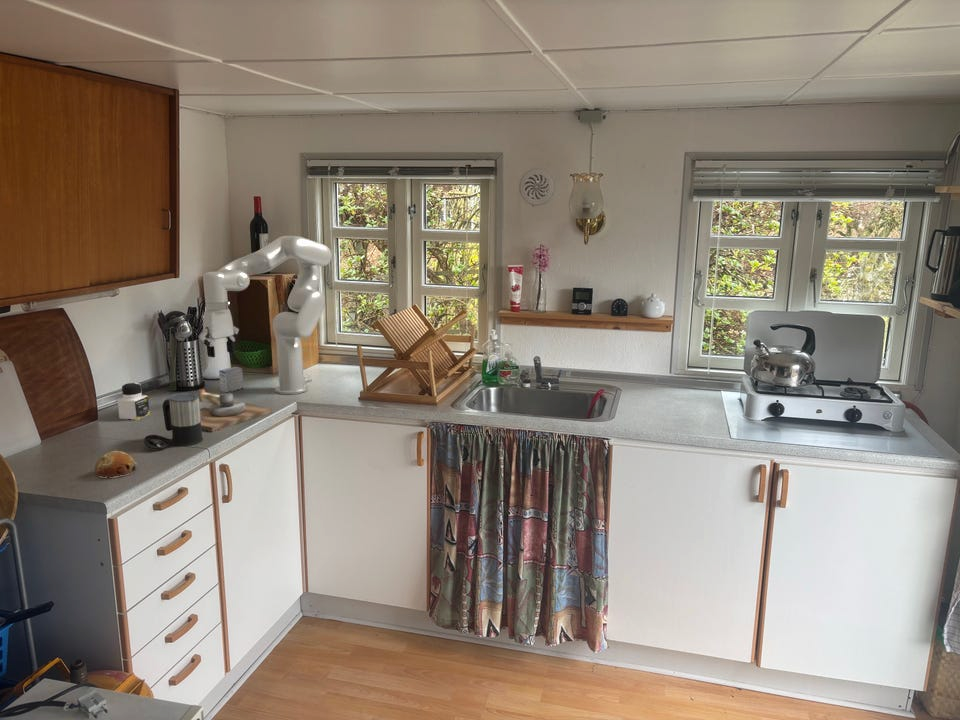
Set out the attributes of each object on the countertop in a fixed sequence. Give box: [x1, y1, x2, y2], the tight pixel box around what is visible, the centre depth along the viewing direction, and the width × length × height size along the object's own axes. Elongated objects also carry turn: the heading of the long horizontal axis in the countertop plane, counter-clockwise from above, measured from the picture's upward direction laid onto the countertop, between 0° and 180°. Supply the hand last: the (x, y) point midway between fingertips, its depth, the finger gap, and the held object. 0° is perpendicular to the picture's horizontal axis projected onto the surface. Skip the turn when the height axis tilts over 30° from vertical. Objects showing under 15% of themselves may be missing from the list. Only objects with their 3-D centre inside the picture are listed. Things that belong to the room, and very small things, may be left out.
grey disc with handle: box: [197, 388, 245, 416], centre depth 257 cm, size 20×12×6 cm, turn 59°
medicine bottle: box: [117, 382, 151, 421], centre depth 255 cm, size 7×7×12 cm
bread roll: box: [94, 450, 138, 477], centre depth 203 cm, size 10×10×8 cm
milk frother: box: [143, 392, 204, 451], centre depth 225 cm, size 14×16×15 cm
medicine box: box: [218, 366, 244, 393], centre depth 291 cm, size 8×4×9 cm, turn 144°
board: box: [200, 402, 272, 432], centre depth 255 cm, size 26×22×2 cm
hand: (221, 354), depth 263 cm, fingers open, 8 cm apart
